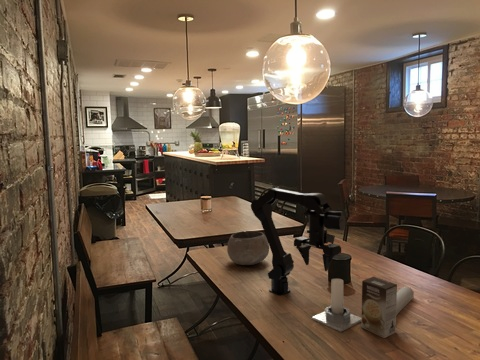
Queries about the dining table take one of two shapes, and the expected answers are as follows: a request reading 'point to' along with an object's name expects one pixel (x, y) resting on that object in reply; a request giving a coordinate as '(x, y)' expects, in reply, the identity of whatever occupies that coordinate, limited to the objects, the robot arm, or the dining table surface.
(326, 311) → the square plate with nut
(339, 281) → the beige cylinder
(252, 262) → the clay pot
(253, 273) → the dining table surface
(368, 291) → the coffee box
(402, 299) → the tube
